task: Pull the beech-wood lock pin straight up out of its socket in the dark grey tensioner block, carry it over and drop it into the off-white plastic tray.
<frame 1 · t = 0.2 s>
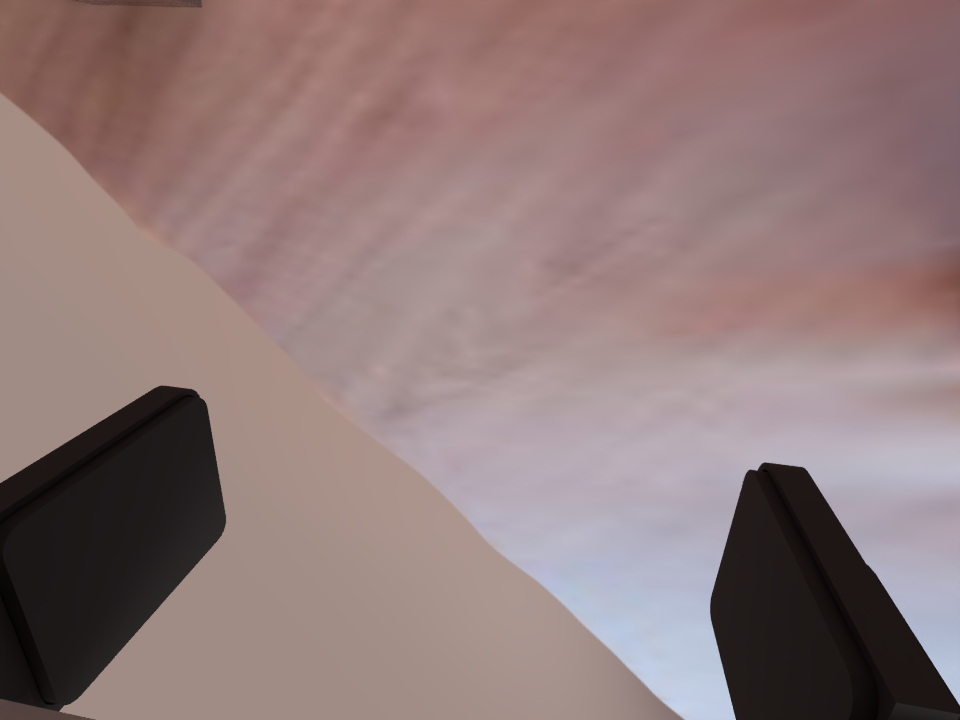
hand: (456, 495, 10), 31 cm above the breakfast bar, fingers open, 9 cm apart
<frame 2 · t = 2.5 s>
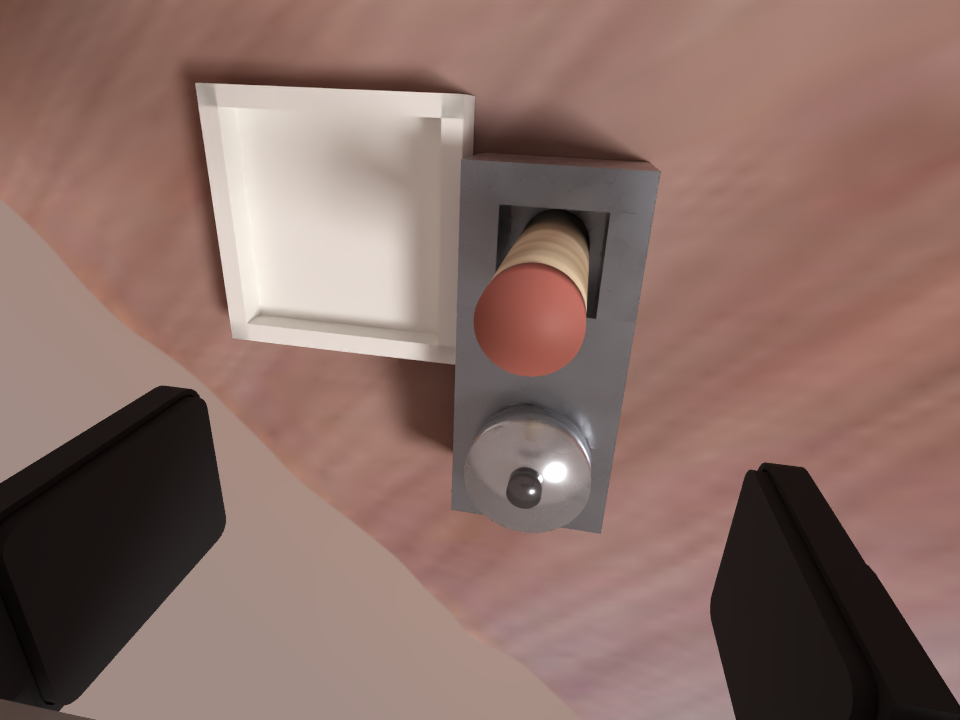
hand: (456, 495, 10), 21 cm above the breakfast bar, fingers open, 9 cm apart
tensioner block: (547, 331, 31), on the breakfast bar
lock pin: (555, 244, 28), point 1 cm above the breakfast bar, touching tensioner block
tray: (352, 223, 30), on the breakfast bar
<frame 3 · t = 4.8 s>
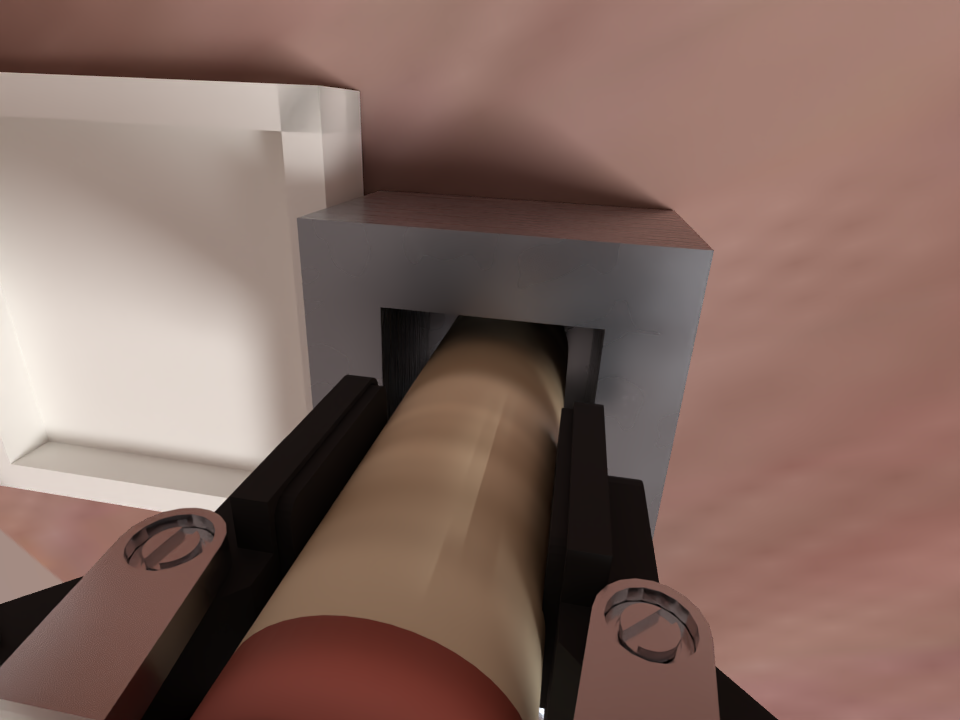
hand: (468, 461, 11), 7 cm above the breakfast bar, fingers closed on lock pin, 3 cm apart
tensioner block: (501, 476, 19), on the breakfast bar
lock pin: (507, 350, 16), point 1 cm above the breakfast bar, touching gripper, tensioner block
tray: (178, 302, 18), on the breakfast bar
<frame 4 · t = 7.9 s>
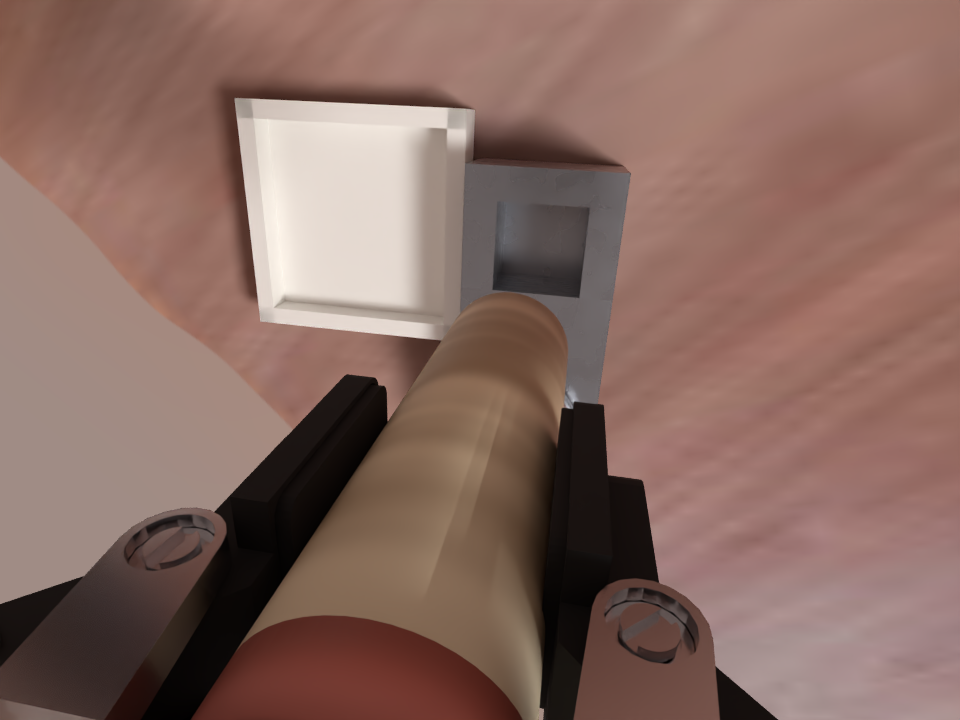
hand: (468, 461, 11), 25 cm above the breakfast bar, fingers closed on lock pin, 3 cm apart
tensioner block: (538, 313, 35), on the breakfast bar
lock pin: (507, 350, 16), point 19 cm above the breakfast bar, touching gripper
tray: (367, 219, 35), on the breakfast bar
when the fingers open (9 cm above the breakfast bar, at t = 11.3 s): lock pin drops 2 cm, resting on tray.
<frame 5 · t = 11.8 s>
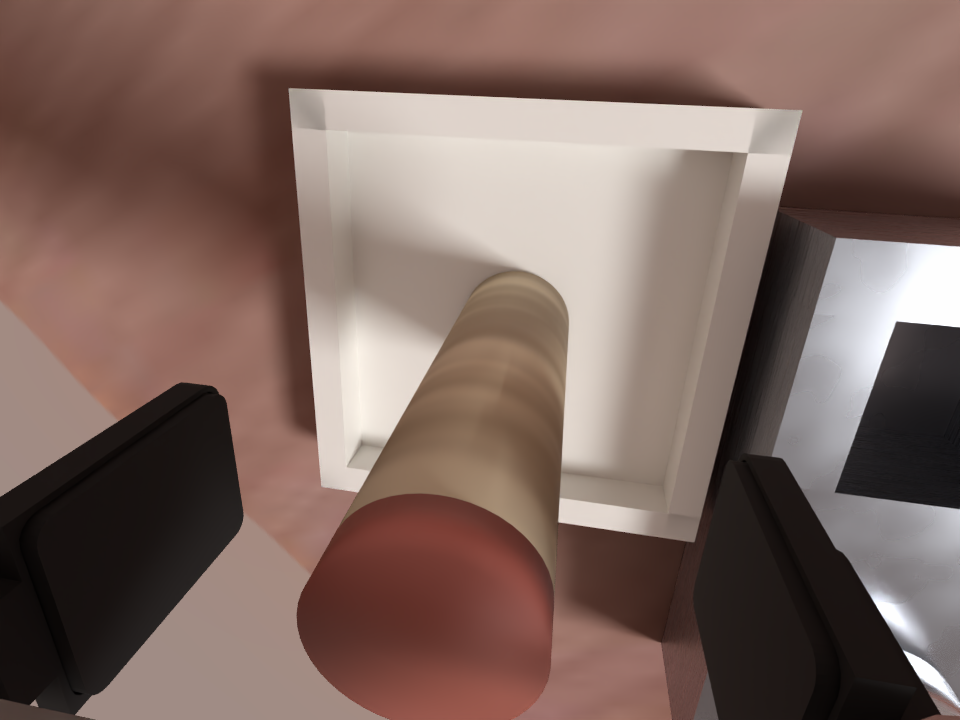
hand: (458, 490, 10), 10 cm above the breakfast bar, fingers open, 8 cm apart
tensioner block: (824, 479, 19), on the breakfast bar
lock pin: (515, 322, 18), point 1 cm above the breakfast bar, touching tray
tray: (520, 312, 19), on the breakfast bar
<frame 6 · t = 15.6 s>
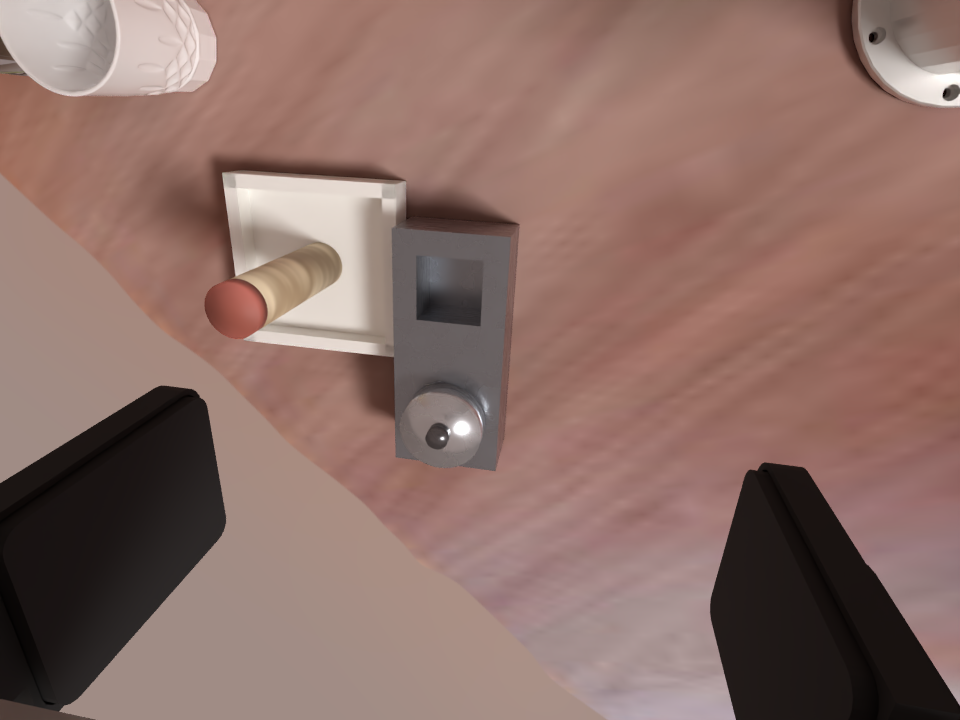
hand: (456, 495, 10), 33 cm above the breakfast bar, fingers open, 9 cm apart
tensioner block: (461, 334, 45), on the breakfast bar
lock pin: (321, 264, 43), point 1 cm above the breakfast bar, touching tray
white cup: (176, 41, 40), on the breakfast bar
tray: (327, 261, 44), on the breakfast bar
coffee box: (71, 6, 40), on the breakfast bar
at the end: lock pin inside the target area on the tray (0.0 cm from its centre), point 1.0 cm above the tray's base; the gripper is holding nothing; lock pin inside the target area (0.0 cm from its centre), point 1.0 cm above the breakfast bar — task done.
